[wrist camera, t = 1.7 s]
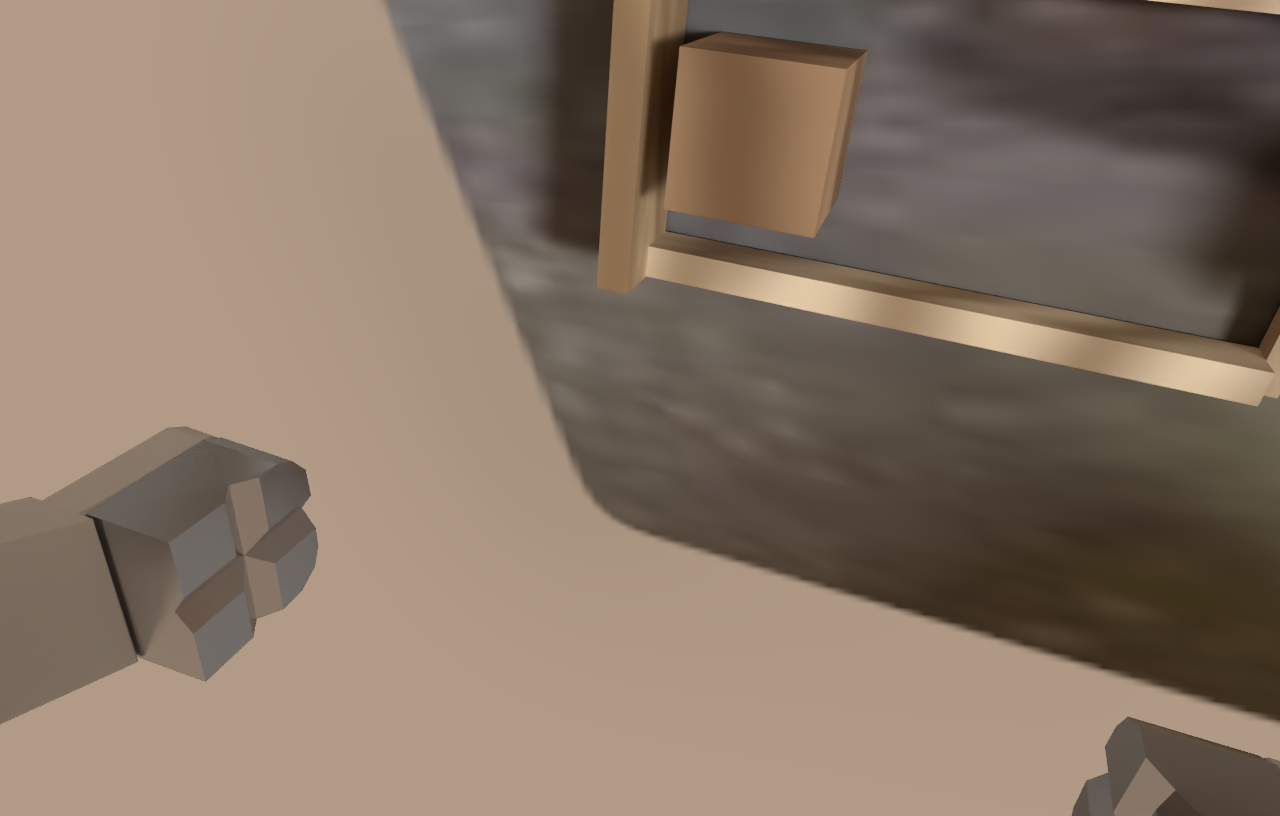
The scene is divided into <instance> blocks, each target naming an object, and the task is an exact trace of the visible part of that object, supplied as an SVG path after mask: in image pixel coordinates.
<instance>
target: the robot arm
mask: <svg viewBox="0 0 1280 816" xmlns="http://www.w3.org/2000/svg"><path fill="white" fill-rule="evenodd" d="M310 495H311V494H310V489H309V484H308V479H307V475H306V470H305V469H303V468H302V467H300V466H299V465H297V464H295V463H294V462H292V461H289V460H286V459H283V458H280V457H278V456H275V455H271V454H268V453H266V452H262V451H259V450H257V449H254V448H251V447H248V446H245V445H242V444H239V443H236V442H233V441H230V440H227V439H224V438H217V437H214V436H211V435H209V434H206V433H203V432H200V431H197V430H194V429H191V428H188V427H175V428H166V429H165V430H163V431H161V432H159V433H158V434H156V435H154V436H153V437H151V438H149V439H147V440H146V441H144V442H142V443H140V444H139V445H137V446H135V447H133V448H132V449H130V450H128V451H127V452H125V453H123V454H122V455H120V456H118V457H116V458H115V459H113V460H111V461H109V462H108V463H106V464H104V465H102V466H101V467H99V468H97V469H96V470H94V471H92V472H90V473H89V474H87V475H85V476H83V477H82V478H80V479H78V480H77V481H75V482H73V483H71V484H70V485H68V486H66V487H65V488H63V489H61V490H59V491H58V492H56V493H54V494H53V495H51V496H49V497H47V498H46V499H44V500H42V501H41V500H38V499H35V498H32V497H28V498H24V499H19V500H15V501H10V502H6V503H2V504H0V724H2V723H4V722H6V721H9V720H11V719H13V718H15V717H17V716H19V715H22V714H24V713H26V712H28V711H30V710H33V709H35V708H37V707H39V706H42V705H44V704H46V703H48V702H50V701H52V700H55V699H57V698H59V697H61V696H64V695H66V694H68V693H70V692H72V691H74V690H77V689H79V688H81V687H83V686H86V685H88V684H90V683H92V682H94V681H97V680H99V679H101V678H103V677H105V676H107V675H110V674H112V673H114V672H116V671H119V670H121V669H123V668H125V667H127V666H130V665H132V664H134V663H136V662H137V661H138V659H137V657H139V658H142V659H145V660H147V661H150V662H153V663H156V664H158V665H161V666H164V667H167V668H169V669H172V670H175V671H178V672H180V673H183V674H186V675H189V676H191V677H194V678H197V679H200V680H202V681H205V682H206V681H207V680H208V679H209V678H210V677H211V676H212V675H213V674H214V673H216V672H217V671H218V670H219V669H220V668H221V667H222V666H223V665H224V664H225V663H226V662H227V661H228V660H229V659H231V658H232V657H233V656H234V655H235V654H236V653H237V652H238V651H239V650H240V649H241V648H242V647H243V646H245V644H247V642H249V641H250V640H251V639H252V638H253V636H254V631H255V624H256V619H257V618H260V617H263V616H265V615H268V614H271V613H274V612H276V611H279V610H282V609H284V608H285V607H286V606H287V605H288V604H289V603H290V602H291V601H292V600H293V599H294V598H295V597H296V596H297V595H298V594H299V593H300V592H301V591H302V590H303V588H304V586H305V584H306V582H307V580H308V578H309V576H310V575H311V573H312V570H313V569H314V567H315V562H316V555H317V550H318V542H317V535H316V528H315V527H314V525H313V524H312V522H311V521H310V519H309V518H308V517H307V515H306V514H305V512H304V511H303V510H302V506H303V505H304V504H305V502H306V501H307V500H308V498H309V497H310ZM1105 750H1106V757H1107V765H1108V773H1106V774H1104V775H1101V776H1098V777H1095V778H1093V779H1090V780H1087V781H1086V783H1085V785H1084V787H1083V789H1082V791H1081V793H1080V795H1079V798H1078V799H1077V801H1076V803H1075V806H1074V808H1073V813H1072V816H1280V761H1278V760H1274V759H1271V758H1262V757H1260V756H1258V755H1255V754H1251V753H1248V752H1245V751H1241V750H1238V749H1234V748H1231V747H1228V746H1224V745H1221V744H1218V743H1214V742H1211V741H1208V740H1204V739H1201V738H1198V737H1194V736H1191V735H1187V734H1184V733H1181V732H1177V731H1174V730H1171V729H1167V728H1164V727H1161V726H1157V725H1154V724H1151V723H1147V722H1144V721H1140V720H1137V719H1134V718H1131V717H1127V718H1126V719H1125V720H1124V721H1122V722H1121V723H1120V724H1119V725H1117V726H1116V728H1115V730H1114V732H1113V733H1112V735H1111V737H1110V739H1109V740H1108V742H1107V744H1106V746H1105Z"/></svg>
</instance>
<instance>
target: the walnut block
mask: <svg viewBox="0 0 1280 816" xmlns="http://www.w3.org/2000/svg"><path fill="white" fill-rule="evenodd" d="M866 55H867V50H860V49H852V48H844V47H837V46H829V45H822V44H814V43H807V42H799V41H791V40H784V39H776V38H769V37H761V36H753V35H746V34H738V33H731V32H720V33H717V34H714V35H711V36H708V37H705V38H702V39H699V40H696V41H693V42H691V43H688V44H685V45H682V46H680V48H679V59H678V69H677V79H676V89H675V100H674V110H673V120H672V130H671V140H670V151H669V161H668V171H667V181H666V192H665V202H664V209H665V210H670V211H675V212H681V213H686V214H691V215H696V216H701V217H707V218H712V219H717V220H722V221H728V222H733V223H738V224H743V225H748V226H754V227H759V228H764V229H769V230H775V231H780V232H785V233H790V234H795V235H801V236H806V237H811V238H814V237H815V235H816V233H817V232H818V230H819V228H820V227H821V225H822V223H823V222H824V220H825V218H826V217H827V215H828V213H829V212H830V210H831V208H832V207H833V205H834V203H835V202H836V200H837V198H838V193H839V188H840V183H841V178H842V173H843V168H844V163H845V158H846V153H847V148H848V144H849V139H850V134H851V129H852V124H853V119H854V114H855V109H856V104H857V99H858V94H859V89H860V85H861V80H862V75H863V70H864V65H865V60H866Z"/></svg>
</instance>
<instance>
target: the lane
mask: <svg viewBox="0 0 1280 816" xmlns="http://www.w3.org/2000/svg"><path fill="white" fill-rule="evenodd" d="M1149 1H1159V2H1168V3H1178V4H1187V5H1196V6H1206V7H1215V8H1225V9H1234V10H1243V11H1253V12H1262V13H1271V14H1280V0H1149ZM687 10H688V0H614V4H613V21H612V38H611V55H610V72H609V89H608V106H607V123H606V140H605V157H604V174H603V191H602V208H601V225H600V242H599V259H598V276H597V288H601V289H606V290H610V291H615V292H619V293H624V294H628V293H629V292H630V291H631V290H632V289H633V288H634V287H635V286H636V285H637V284H638V283H639V282H640V281H642V280H643V279H644V278H645V277H646V276H647V277H652V278H657V279H661V280H666V281H671V282H675V283H680V284H685V285H689V286H694V287H699V288H703V289H708V290H713V291H718V292H722V293H727V294H732V295H736V296H741V297H746V298H750V299H755V300H760V301H765V302H769V303H774V304H779V305H783V306H788V307H793V308H797V309H802V310H807V311H812V312H816V313H821V314H826V315H830V316H835V317H840V318H844V319H849V320H854V321H858V322H863V323H868V324H873V325H877V326H882V327H887V328H891V329H896V330H901V331H905V332H910V333H915V334H920V335H924V336H929V337H934V338H938V339H943V340H948V341H952V342H957V343H962V344H966V345H971V346H976V347H981V348H985V349H990V350H995V351H999V352H1004V353H1009V354H1013V355H1018V356H1023V357H1028V358H1032V359H1037V360H1042V361H1046V362H1051V363H1056V364H1060V365H1065V366H1070V367H1074V368H1079V369H1084V370H1089V371H1093V372H1098V373H1103V374H1107V375H1112V376H1117V377H1121V378H1126V379H1131V380H1136V381H1140V382H1145V383H1150V384H1154V385H1159V386H1164V387H1168V388H1173V389H1178V390H1182V391H1187V392H1192V393H1197V394H1201V395H1206V396H1211V397H1215V398H1220V399H1225V400H1229V401H1234V402H1239V403H1244V404H1248V405H1253V406H1258V405H1259V403H1260V401H1261V399H1262V397H1263V396H1268V397H1273V398H1278V396H1279V394H1280V306H1279V308H1278V310H1277V312H1276V314H1275V316H1274V318H1273V320H1272V322H1271V324H1270V326H1269V328H1268V330H1267V332H1266V334H1265V336H1264V338H1263V340H1262V342H1261V344H1260V346H1259V348H1256V347H1251V346H1245V345H1240V344H1235V343H1230V342H1225V341H1220V340H1215V339H1210V338H1205V337H1200V336H1195V335H1190V334H1185V333H1180V332H1174V331H1169V330H1164V329H1159V328H1154V327H1149V326H1144V325H1139V324H1134V323H1129V322H1124V321H1119V320H1114V319H1109V318H1103V317H1098V316H1093V315H1088V314H1083V313H1078V312H1073V311H1068V310H1063V309H1058V308H1053V307H1048V306H1043V305H1038V304H1032V303H1027V302H1022V301H1017V300H1012V299H1007V298H1002V297H997V296H992V295H987V294H982V293H977V292H972V291H966V290H961V289H956V288H951V287H946V286H941V285H936V284H931V283H926V282H921V281H916V280H911V279H906V278H901V277H895V276H890V275H885V274H880V273H875V272H870V271H865V270H860V269H855V268H850V267H845V266H840V265H835V264H830V263H824V262H819V261H814V260H809V259H804V258H799V257H794V256H789V255H784V254H779V253H774V252H769V251H764V250H758V249H753V248H748V247H743V246H738V245H733V244H728V243H723V242H718V241H713V240H708V239H703V238H698V237H693V236H687V235H682V234H677V233H672V232H667V231H666V221H667V211H668V210H665V209H664V202H665V192H666V181H667V171H668V161H669V151H670V140H671V130H672V120H673V110H674V100H675V89H676V79H677V69H678V59H679V48H680V46H682V45H684V40H685V30H686V20H687Z"/></svg>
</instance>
